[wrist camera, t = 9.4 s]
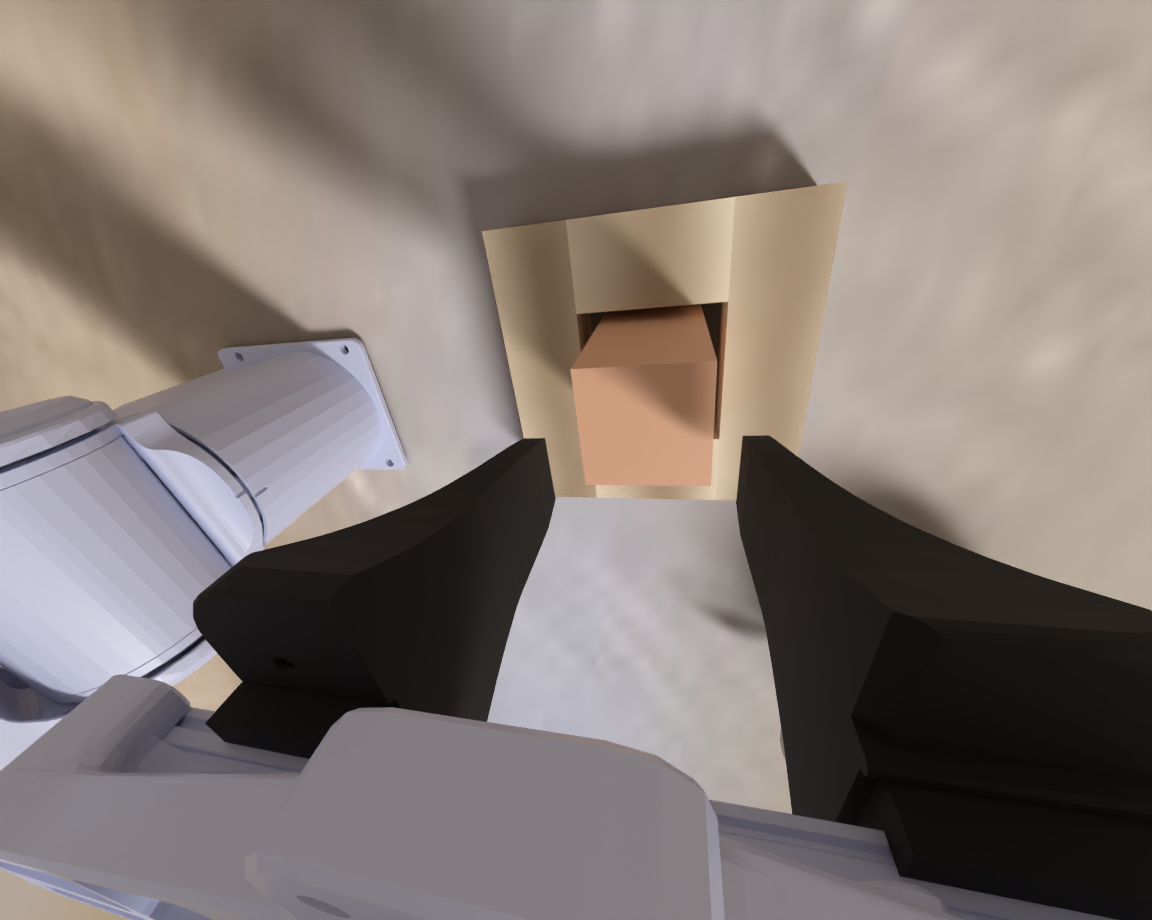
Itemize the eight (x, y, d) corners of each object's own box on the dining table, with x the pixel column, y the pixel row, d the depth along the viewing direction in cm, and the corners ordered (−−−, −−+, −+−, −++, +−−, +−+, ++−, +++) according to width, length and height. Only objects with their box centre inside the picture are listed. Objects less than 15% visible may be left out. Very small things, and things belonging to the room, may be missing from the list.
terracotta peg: (613, 393, 20) (585, 484, 14) (607, 310, 19) (570, 369, 12) (697, 390, 20) (710, 486, 13) (700, 302, 18) (717, 360, 11)
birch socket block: (550, 465, 24) (535, 496, 21) (508, 227, 18) (481, 231, 15) (776, 466, 21) (790, 501, 19) (818, 185, 15) (846, 181, 13)
